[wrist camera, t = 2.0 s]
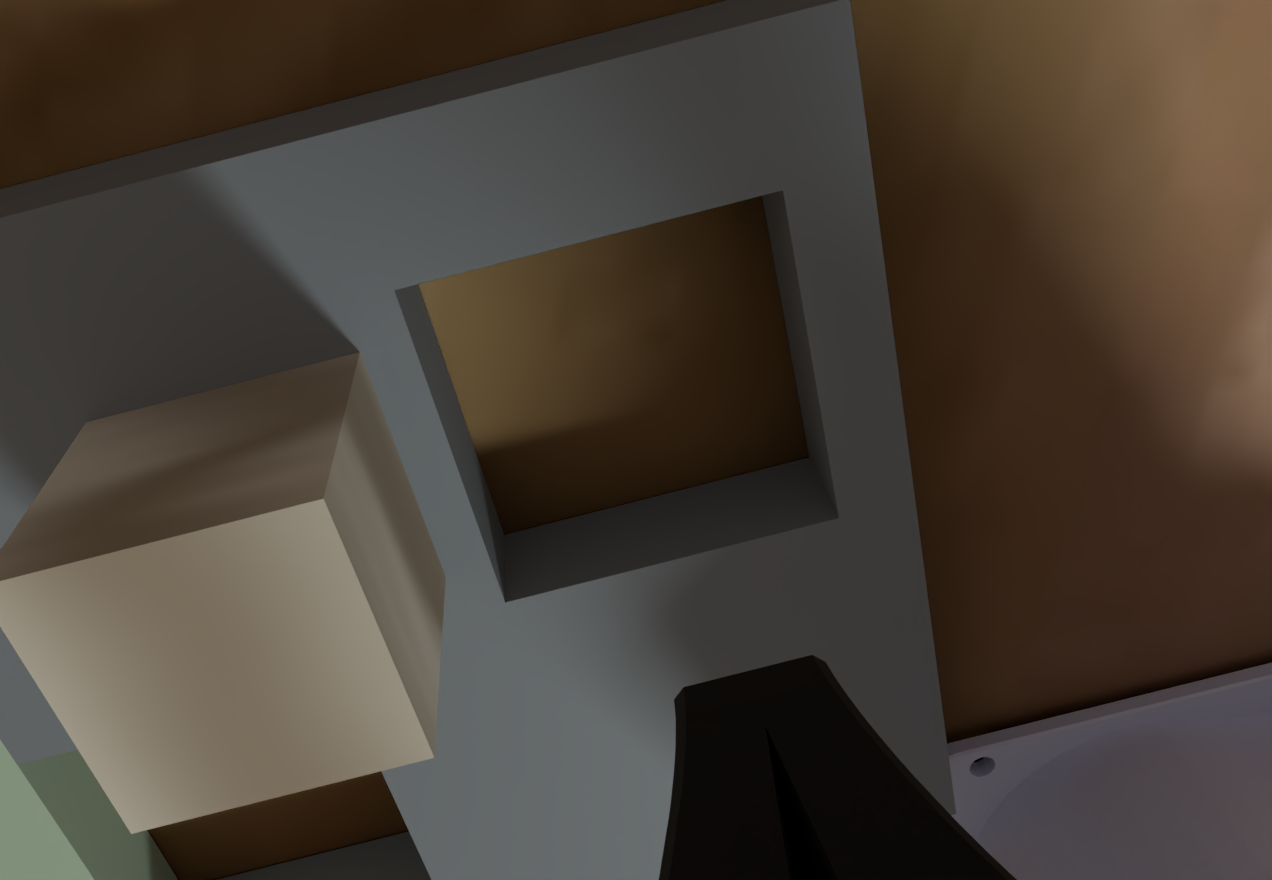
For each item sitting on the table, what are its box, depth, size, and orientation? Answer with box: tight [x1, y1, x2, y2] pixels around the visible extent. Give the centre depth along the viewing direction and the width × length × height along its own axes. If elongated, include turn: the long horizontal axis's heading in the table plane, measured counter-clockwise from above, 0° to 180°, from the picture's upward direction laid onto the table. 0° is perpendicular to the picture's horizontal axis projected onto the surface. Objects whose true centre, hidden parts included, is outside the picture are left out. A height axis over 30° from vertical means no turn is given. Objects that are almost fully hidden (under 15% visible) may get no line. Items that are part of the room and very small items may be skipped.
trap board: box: [0, 0, 956, 880], centre depth 19 cm, size 20×15×4 cm
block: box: [0, 352, 446, 834], centre depth 16 cm, size 4×4×4 cm
